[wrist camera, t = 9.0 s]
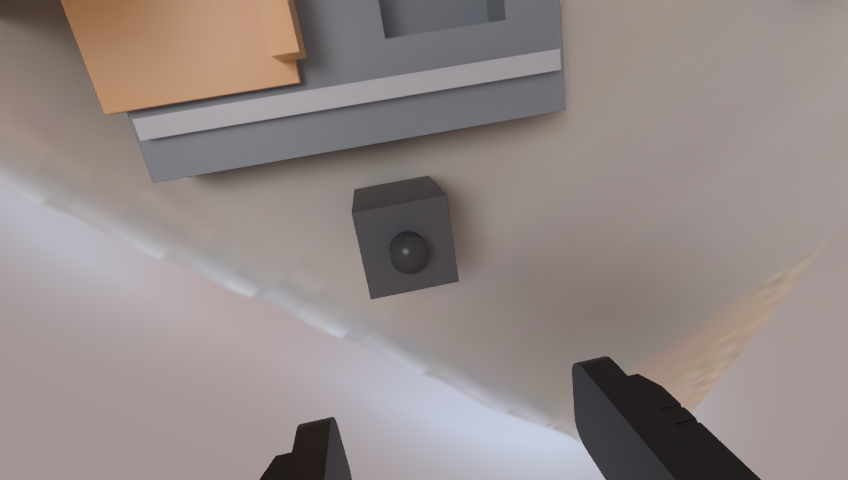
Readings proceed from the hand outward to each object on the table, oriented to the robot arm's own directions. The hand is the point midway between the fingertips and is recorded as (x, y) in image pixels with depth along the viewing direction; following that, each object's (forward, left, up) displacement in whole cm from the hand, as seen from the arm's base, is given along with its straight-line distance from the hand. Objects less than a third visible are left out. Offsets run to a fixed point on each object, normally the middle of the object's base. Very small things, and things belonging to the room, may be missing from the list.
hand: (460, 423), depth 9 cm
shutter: (-13, -8, -15) cm, 22 cm away
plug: (0, 0, -19) cm, 19 cm away
